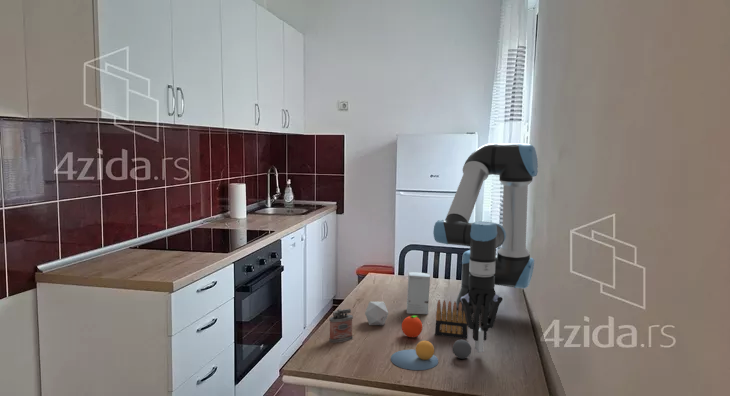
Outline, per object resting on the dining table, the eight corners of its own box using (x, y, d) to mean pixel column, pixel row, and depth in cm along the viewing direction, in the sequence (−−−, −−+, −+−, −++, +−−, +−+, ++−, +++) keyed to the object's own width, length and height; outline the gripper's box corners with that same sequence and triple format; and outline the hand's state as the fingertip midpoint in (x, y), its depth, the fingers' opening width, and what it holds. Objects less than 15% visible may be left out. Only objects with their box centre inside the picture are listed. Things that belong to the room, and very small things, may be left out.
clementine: (410, 330, 171) (411, 310, 170) (427, 335, 166) (428, 314, 165) (397, 337, 164) (397, 316, 164) (414, 342, 160) (415, 321, 159)
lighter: (331, 343, 158) (332, 313, 157) (327, 339, 161) (327, 309, 160) (354, 339, 162) (354, 309, 161) (349, 335, 165) (350, 306, 164)
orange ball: (426, 334, 150) (410, 344, 149) (430, 341, 144) (414, 351, 144) (434, 349, 151) (419, 358, 150) (439, 356, 145) (423, 366, 145)
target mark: (430, 349, 155) (430, 348, 155) (444, 368, 141) (444, 368, 141) (386, 351, 153) (386, 350, 153) (396, 371, 139) (396, 370, 139)
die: (380, 331, 171) (394, 307, 173) (359, 318, 172) (373, 294, 174) (379, 331, 179) (393, 308, 181) (359, 318, 180) (373, 295, 182)
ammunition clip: (467, 336, 166) (468, 301, 164) (467, 338, 164) (468, 303, 163) (435, 333, 169) (436, 298, 167) (434, 334, 167) (435, 300, 166)
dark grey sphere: (455, 333, 150) (446, 349, 150) (462, 341, 145) (453, 357, 145) (469, 340, 152) (461, 356, 152) (477, 348, 147) (468, 364, 147)
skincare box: (406, 313, 187) (407, 275, 186) (406, 308, 193) (407, 271, 192) (429, 314, 187) (430, 276, 185) (428, 309, 193) (429, 272, 191)
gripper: (465, 277, 143) (462, 356, 145) (508, 276, 145) (504, 354, 147) (456, 271, 150) (454, 346, 153) (497, 270, 152) (494, 344, 154)
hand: (478, 350), depth 150 cm, fingers closed
